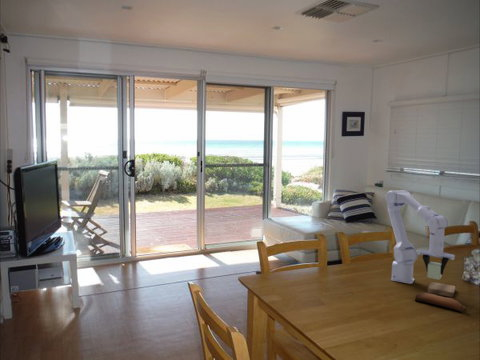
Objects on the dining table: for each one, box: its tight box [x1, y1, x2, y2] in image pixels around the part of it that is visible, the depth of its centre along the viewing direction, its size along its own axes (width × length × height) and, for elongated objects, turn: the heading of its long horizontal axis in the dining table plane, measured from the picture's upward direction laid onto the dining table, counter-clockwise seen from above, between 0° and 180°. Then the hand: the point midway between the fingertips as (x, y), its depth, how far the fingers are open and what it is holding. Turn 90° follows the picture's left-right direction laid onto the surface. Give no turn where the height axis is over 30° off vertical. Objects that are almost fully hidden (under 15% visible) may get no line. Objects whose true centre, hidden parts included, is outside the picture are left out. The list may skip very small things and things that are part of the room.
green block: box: [426, 261, 443, 281], centre depth 183 cm, size 5×5×6 cm
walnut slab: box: [427, 281, 456, 298], centre depth 186 cm, size 10×10×2 cm
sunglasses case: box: [414, 292, 466, 313], centre depth 171 cm, size 18×7×7 cm
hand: (434, 272), depth 184 cm, fingers closed on green block, 5 cm apart
